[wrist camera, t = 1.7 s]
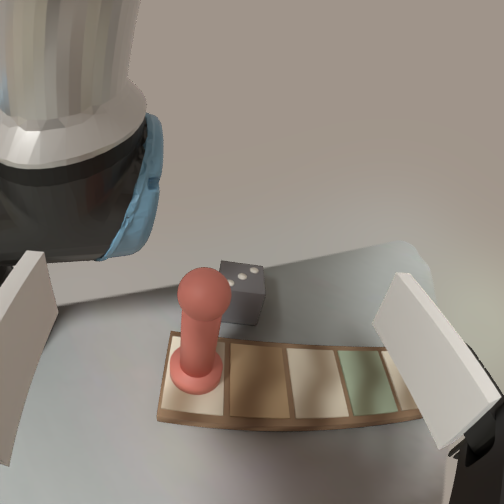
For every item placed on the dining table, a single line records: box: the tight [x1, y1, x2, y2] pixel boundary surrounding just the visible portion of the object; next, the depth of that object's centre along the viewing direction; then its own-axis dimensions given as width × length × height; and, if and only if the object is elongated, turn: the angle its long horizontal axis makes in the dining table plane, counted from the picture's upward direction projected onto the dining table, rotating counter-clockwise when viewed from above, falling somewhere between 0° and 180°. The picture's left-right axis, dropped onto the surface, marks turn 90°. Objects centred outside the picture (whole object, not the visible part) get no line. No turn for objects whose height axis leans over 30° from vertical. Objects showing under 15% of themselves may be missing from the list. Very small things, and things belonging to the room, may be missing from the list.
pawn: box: [170, 267, 231, 395], centre depth 24 cm, size 5×5×12 cm
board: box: [157, 331, 423, 431], centre depth 30 cm, size 30×10×1 cm, turn 92°
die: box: [219, 261, 266, 325], centre depth 37 cm, size 5×5×5 cm
